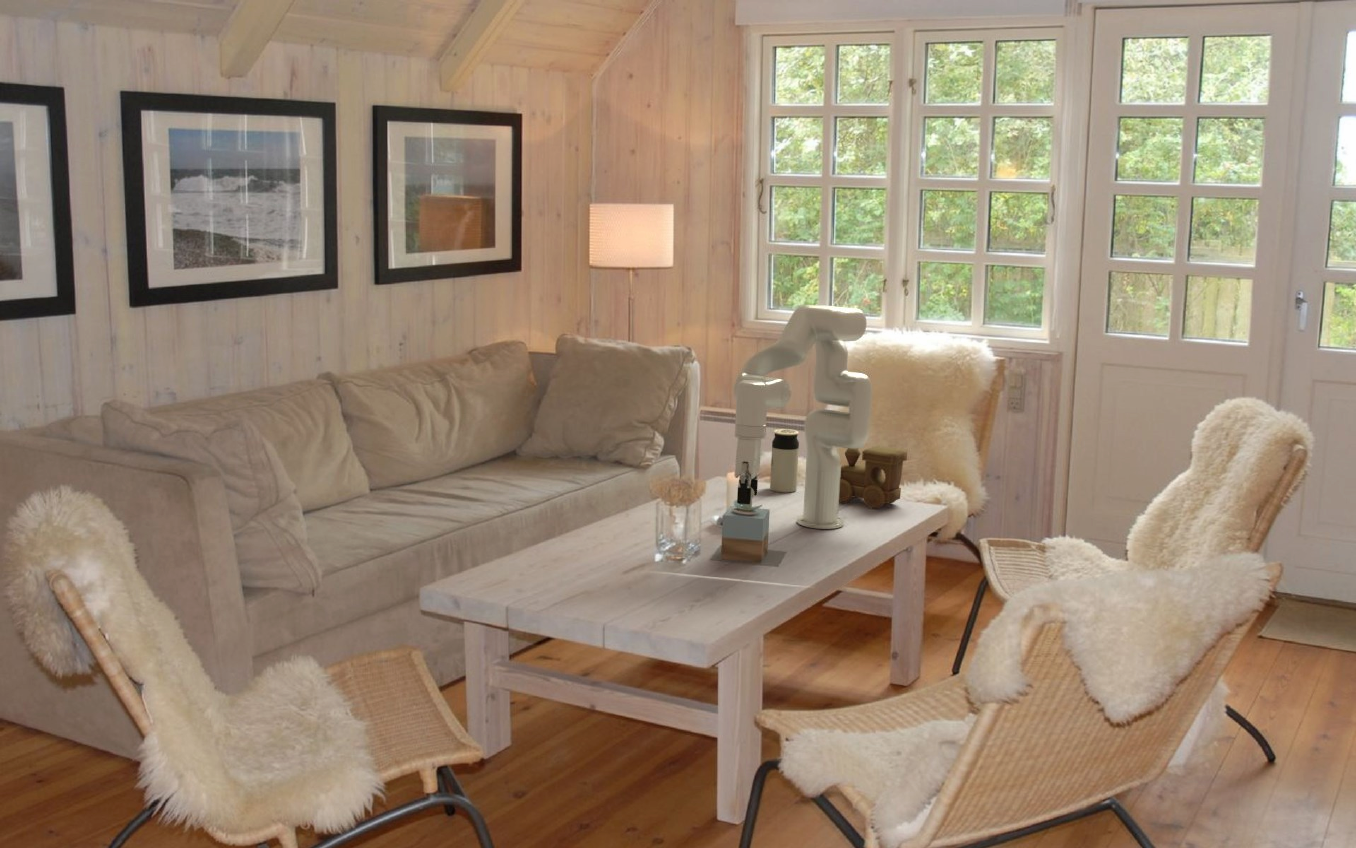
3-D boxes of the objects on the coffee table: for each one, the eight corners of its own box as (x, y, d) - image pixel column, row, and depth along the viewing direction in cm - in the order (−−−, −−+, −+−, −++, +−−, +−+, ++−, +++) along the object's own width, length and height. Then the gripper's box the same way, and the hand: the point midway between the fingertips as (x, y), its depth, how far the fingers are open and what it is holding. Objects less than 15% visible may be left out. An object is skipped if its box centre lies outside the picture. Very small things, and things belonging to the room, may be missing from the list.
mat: (720, 547, 356) (720, 545, 356) (786, 553, 353) (786, 551, 353) (709, 562, 343) (709, 560, 343) (778, 568, 339) (778, 566, 339)
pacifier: (752, 518, 341) (764, 512, 346) (753, 493, 340) (765, 488, 345) (726, 513, 345) (738, 508, 350) (727, 488, 344) (739, 483, 349)
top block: (729, 527, 353) (730, 506, 352) (768, 530, 351) (769, 509, 350) (721, 537, 343) (722, 515, 342) (762, 540, 341) (763, 518, 340)
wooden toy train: (905, 505, 408) (909, 449, 405) (887, 512, 399) (891, 455, 396) (844, 494, 419) (847, 440, 416) (826, 501, 410) (829, 445, 407)
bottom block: (728, 548, 354) (729, 527, 353) (767, 552, 352) (768, 530, 351) (720, 558, 344) (721, 537, 343) (761, 562, 342) (762, 540, 341)
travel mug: (799, 488, 425) (802, 430, 421) (792, 494, 417) (795, 434, 414) (774, 485, 427) (777, 427, 424) (766, 491, 420) (769, 432, 417)
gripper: (741, 423, 351) (738, 490, 354) (728, 436, 335) (725, 506, 338) (771, 426, 350) (767, 493, 353) (759, 438, 333) (756, 508, 336)
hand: (747, 499), depth 345 cm, fingers open, 9 cm apart
